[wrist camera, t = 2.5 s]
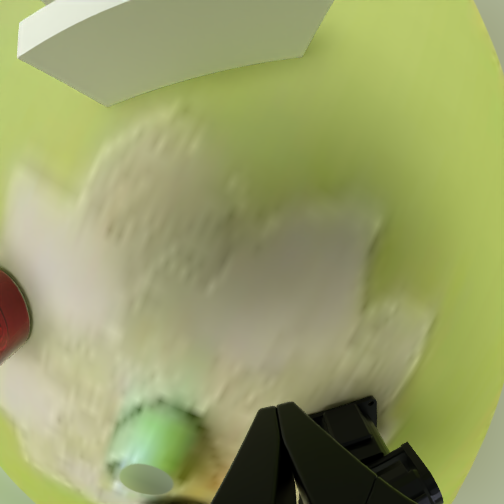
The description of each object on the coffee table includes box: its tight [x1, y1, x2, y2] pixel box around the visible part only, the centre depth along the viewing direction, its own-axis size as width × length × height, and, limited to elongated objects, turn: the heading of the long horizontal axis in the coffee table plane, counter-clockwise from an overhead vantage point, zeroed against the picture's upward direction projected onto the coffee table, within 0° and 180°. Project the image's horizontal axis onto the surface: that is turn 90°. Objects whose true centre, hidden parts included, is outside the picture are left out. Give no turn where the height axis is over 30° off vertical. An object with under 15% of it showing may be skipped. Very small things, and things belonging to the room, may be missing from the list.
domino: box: [17, 0, 334, 107], centre depth 12 cm, size 2×13×10 cm, turn 104°
